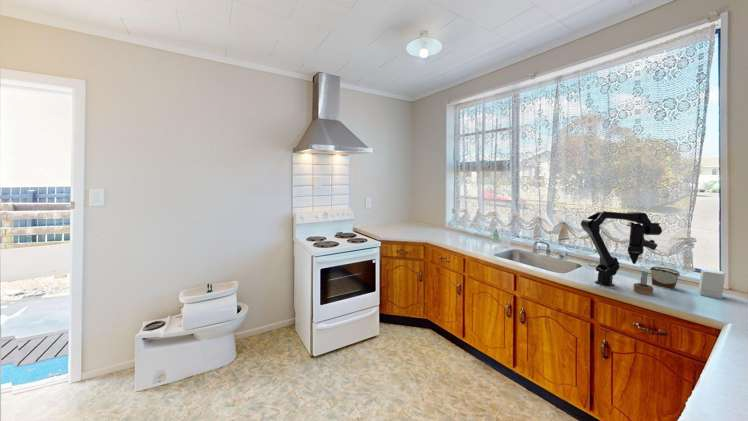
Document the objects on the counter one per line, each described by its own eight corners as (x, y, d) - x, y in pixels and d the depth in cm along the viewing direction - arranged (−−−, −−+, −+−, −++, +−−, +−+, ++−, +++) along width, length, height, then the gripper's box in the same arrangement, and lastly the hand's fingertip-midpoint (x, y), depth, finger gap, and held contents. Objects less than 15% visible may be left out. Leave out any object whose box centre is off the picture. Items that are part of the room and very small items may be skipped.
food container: (683, 289, 156) (685, 271, 155) (677, 291, 154) (679, 272, 153) (654, 282, 167) (656, 265, 167) (648, 283, 165) (650, 266, 164)
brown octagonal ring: (644, 294, 148) (645, 288, 148) (630, 289, 155) (630, 283, 154) (655, 294, 149) (656, 287, 149) (641, 289, 156) (641, 282, 156)
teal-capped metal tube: (643, 292, 151) (645, 272, 150) (638, 291, 153) (640, 270, 152) (647, 292, 151) (649, 272, 150) (642, 291, 153) (644, 270, 152)
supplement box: (722, 299, 143) (725, 274, 142) (700, 295, 148) (702, 271, 147) (719, 295, 148) (722, 271, 147) (698, 291, 154) (700, 268, 152)
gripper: (657, 238, 148) (654, 268, 149) (656, 234, 162) (654, 261, 163) (628, 236, 156) (626, 264, 157) (630, 232, 169) (627, 258, 171)
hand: (634, 262), depth 162 cm, fingers open, 9 cm apart
